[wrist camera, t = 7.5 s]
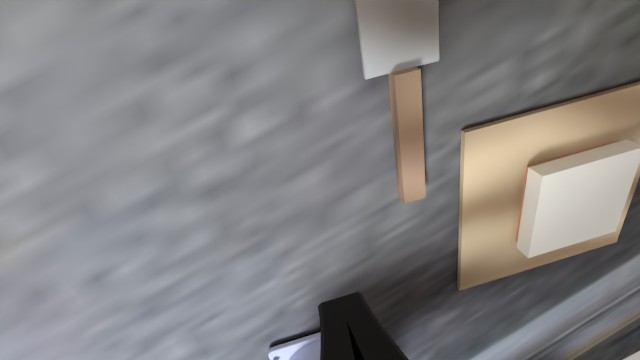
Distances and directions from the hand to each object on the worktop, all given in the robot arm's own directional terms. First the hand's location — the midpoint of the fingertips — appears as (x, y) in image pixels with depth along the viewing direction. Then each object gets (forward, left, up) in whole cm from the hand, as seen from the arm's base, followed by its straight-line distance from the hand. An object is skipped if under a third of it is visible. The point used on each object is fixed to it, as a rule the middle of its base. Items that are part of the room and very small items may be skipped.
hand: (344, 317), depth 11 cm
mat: (-7, -17, -10) cm, 21 cm away
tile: (-7, -14, -9) cm, 18 cm away
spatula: (+4, -6, -10) cm, 13 cm away
